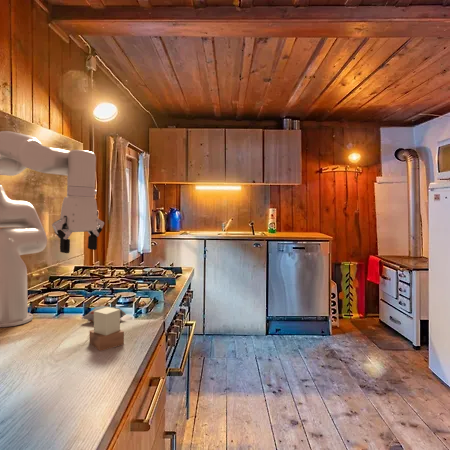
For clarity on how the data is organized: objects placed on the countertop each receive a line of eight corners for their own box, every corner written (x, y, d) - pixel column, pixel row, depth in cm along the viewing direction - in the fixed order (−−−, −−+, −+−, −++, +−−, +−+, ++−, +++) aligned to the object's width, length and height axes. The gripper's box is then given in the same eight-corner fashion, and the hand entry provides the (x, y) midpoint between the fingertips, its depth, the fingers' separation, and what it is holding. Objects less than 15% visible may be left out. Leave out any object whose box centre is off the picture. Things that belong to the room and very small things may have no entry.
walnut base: (89, 344, 99) (89, 330, 98) (112, 338, 103) (112, 325, 103) (100, 352, 94) (100, 337, 93) (123, 345, 98) (123, 331, 98)
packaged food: (110, 328, 111) (110, 313, 111) (80, 323, 115) (80, 309, 115) (126, 320, 120) (126, 306, 119) (98, 316, 123) (98, 302, 123)
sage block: (93, 332, 97) (93, 311, 97) (107, 327, 102) (107, 306, 101) (106, 335, 95) (106, 314, 94) (119, 330, 99) (119, 309, 99)
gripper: (95, 193, 110) (93, 246, 111) (45, 191, 95) (43, 252, 96) (112, 195, 107) (110, 249, 108) (63, 192, 91) (61, 255, 93)
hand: (79, 250), depth 102 cm, fingers open, 9 cm apart
